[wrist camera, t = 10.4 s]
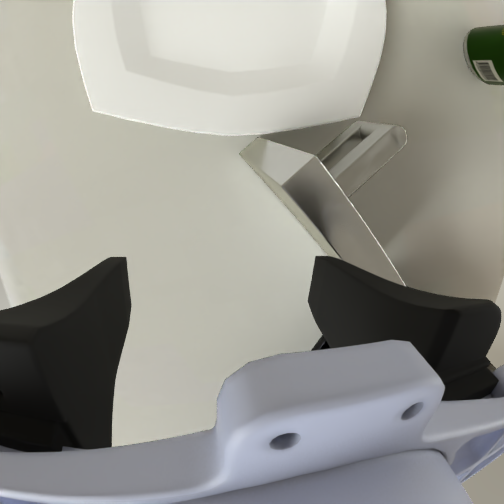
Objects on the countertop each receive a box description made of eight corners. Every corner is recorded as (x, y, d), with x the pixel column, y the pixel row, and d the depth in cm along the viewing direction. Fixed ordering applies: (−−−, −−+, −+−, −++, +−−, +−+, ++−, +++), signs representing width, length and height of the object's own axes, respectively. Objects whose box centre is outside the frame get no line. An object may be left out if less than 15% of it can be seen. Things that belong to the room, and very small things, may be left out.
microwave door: (317, 87, 18) (411, 74, 9) (407, 222, 23) (494, 278, 15) (238, 153, 19) (280, 186, 10) (347, 278, 24) (415, 358, 16)
